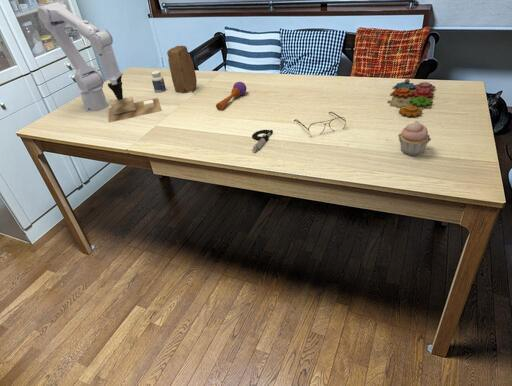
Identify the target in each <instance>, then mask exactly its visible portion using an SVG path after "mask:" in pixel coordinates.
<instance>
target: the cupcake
mask: <svg viewBox="0 0 512 386" xmlns="http://www.w3.org/2000/svg"><path fill="white" fill-rule="evenodd" d="M397 137H398V141H399V143H400V145H399V146H400V150H401V152H402V153H403V154H405V155H408V156H419V155H421V154H422V153H423V152H424V150H425V148H426V147H427V145H428V143H430V141H431V140H432V138H431V136H430V135H429V132H428V128H427V127H426V126H425V125H424V124H422V123H421V122H420V121H417V120H415V121H414V122H413V123H409V124H406V126H405V127H404V128H403V129H402V130H401V132H400V133H399V134H397Z"/></svg>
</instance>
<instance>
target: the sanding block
mask: <svg viewBox="0 0 512 386" xmlns="http://www.w3.org/2000/svg"><path fill="white" fill-rule="evenodd" d="M134 103H135V101H134V98H133V96H129V97H123V99H120V100H118V99H114V100H110V106H111V107H110V108H112V109H113V112H114V115H115V116H116V115H120V114H125V113H130V112H134V111H136V107H135V104H134Z"/></svg>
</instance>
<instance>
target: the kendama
mask: <svg viewBox="0 0 512 386" xmlns="http://www.w3.org/2000/svg"><path fill="white" fill-rule="evenodd" d="M247 88H248V87H247V85H246V83H244V82H243V81H237V82H235V83H234V84H233V87H232V89H231V93H230V95H229V96H227V97H226V98H224V99H222V100H220V101H219V102H218V103H216V105H215V109H216V110H218V111H223V110H224V108H225V107H226V106H227V105H228V103H229V102H230V101H231V100H232V99H233V98H236V97H237V98H239V97H241V96H243V95H245V94H246V93H247Z"/></svg>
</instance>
